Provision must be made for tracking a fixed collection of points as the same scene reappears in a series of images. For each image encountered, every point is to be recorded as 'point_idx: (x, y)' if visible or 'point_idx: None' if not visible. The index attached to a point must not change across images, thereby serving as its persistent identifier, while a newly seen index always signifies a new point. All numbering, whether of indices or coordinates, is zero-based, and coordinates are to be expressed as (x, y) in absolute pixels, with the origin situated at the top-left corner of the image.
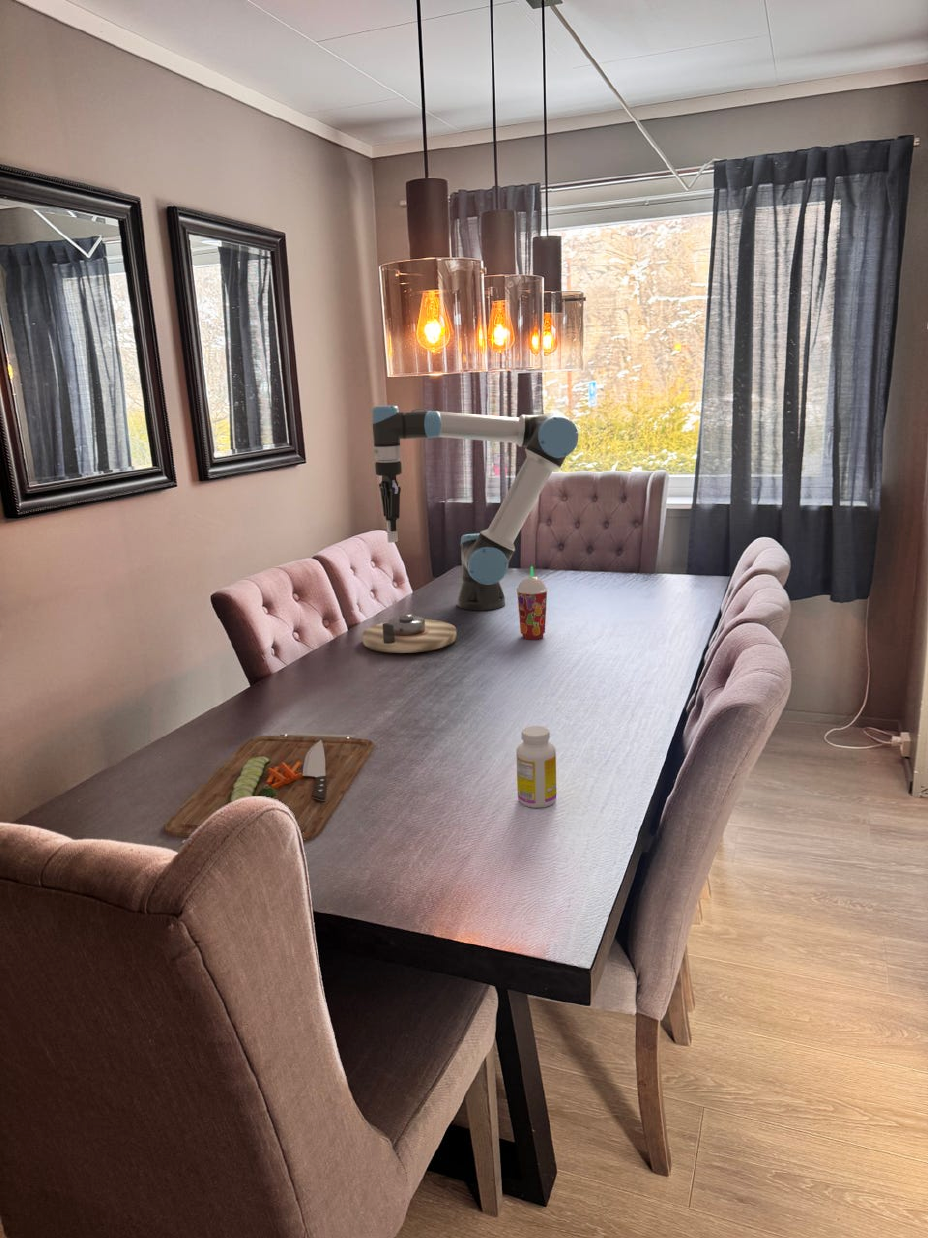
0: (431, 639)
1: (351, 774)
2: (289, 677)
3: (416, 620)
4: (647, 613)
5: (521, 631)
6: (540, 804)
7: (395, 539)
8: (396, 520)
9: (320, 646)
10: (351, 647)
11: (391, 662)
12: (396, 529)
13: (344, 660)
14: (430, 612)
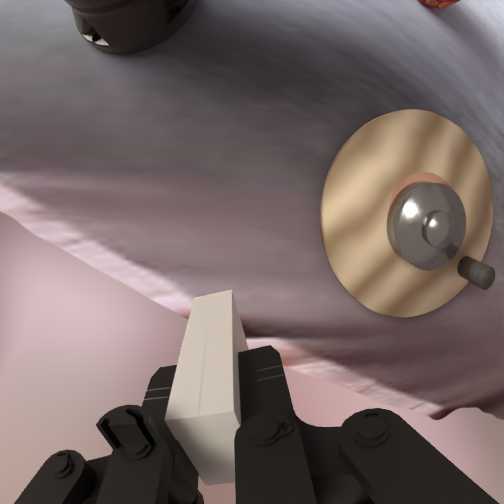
0: (478, 184)
1: None
2: (466, 387)
3: (441, 204)
4: None
5: (440, 7)
6: None
7: (237, 315)
8: (234, 407)
9: (364, 377)
10: (395, 327)
11: (486, 260)
12: (279, 353)
13: (449, 332)
14: (161, 124)
